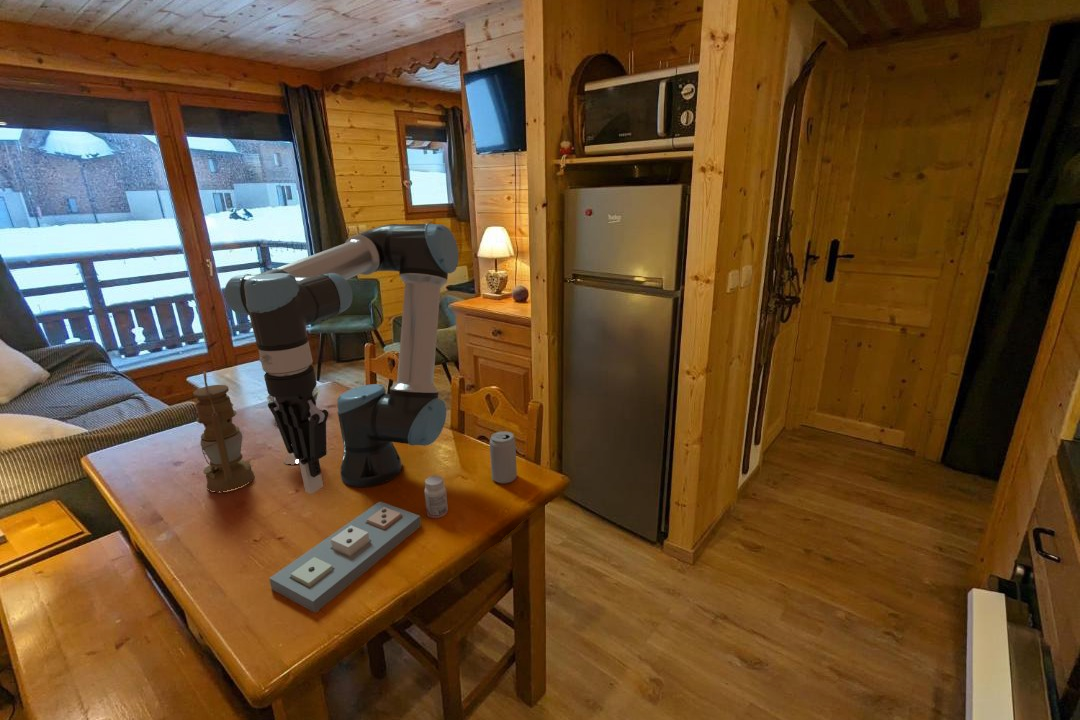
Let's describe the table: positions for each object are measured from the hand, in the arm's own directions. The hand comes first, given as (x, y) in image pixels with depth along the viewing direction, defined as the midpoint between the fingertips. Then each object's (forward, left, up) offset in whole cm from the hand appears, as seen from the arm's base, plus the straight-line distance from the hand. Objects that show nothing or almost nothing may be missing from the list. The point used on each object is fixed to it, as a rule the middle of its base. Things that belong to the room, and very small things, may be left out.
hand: (314, 488), depth 90 cm
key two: (+1, +5, -16) cm, 17 cm away
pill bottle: (+7, +24, -18) cm, 31 cm away
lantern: (-49, +10, -18) cm, 53 cm away
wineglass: (-44, +26, -18) cm, 54 cm away
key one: (+1, -4, -17) cm, 18 cm away
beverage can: (+13, +43, -18) cm, 48 cm away
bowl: (-72, +46, -18) cm, 87 cm away
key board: (+1, +5, -18) cm, 18 cm away
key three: (+1, +14, -17) cm, 22 cm away
